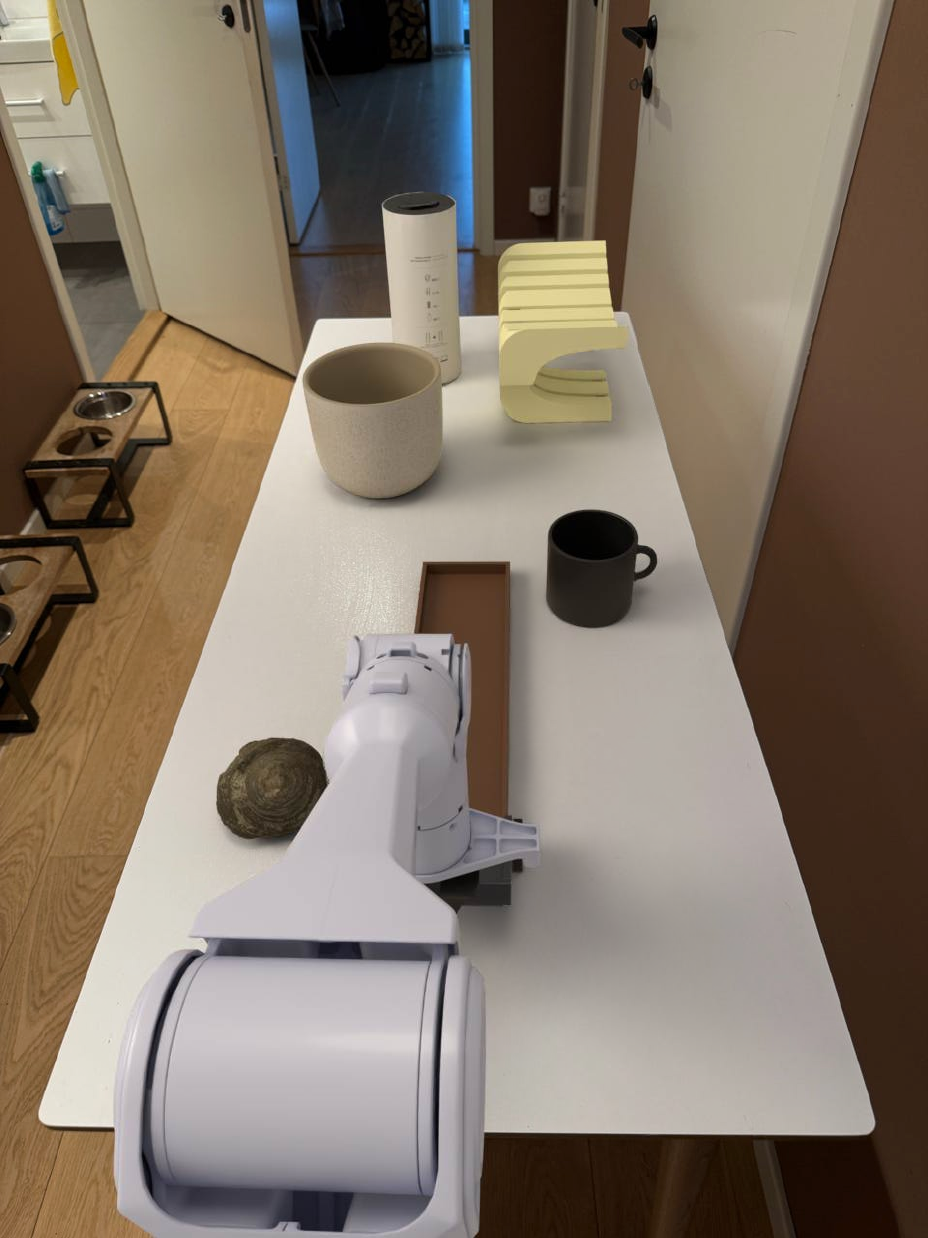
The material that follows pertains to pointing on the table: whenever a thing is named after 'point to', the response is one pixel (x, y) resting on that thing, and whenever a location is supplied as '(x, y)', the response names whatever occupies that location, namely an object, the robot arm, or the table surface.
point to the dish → (489, 885)
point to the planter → (376, 417)
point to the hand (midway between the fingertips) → (434, 913)
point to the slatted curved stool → (554, 330)
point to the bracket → (517, 862)
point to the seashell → (270, 787)
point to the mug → (593, 567)
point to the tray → (476, 663)
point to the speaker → (424, 275)
